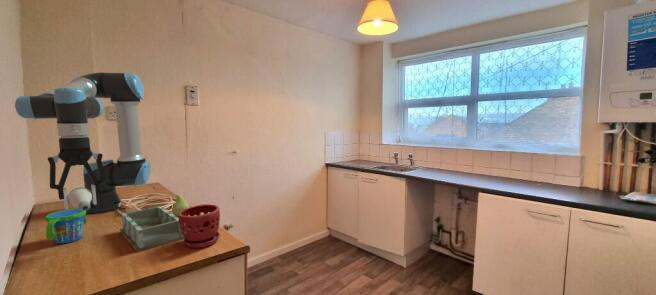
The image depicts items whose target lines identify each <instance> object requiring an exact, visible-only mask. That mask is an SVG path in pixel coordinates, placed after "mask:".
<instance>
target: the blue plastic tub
mask: <svg viewBox="0 0 656 295" xmlns="http://www.w3.org/2000/svg"><path fill="white" fill-rule="evenodd" d="M86 214H87V213H86V211H81V210H80V209H79V208H72V209H71V208H70V209H69V208H68V209H67V210H65V209H64V210H58V211H55V212H51V213H49V214H47V215H46V216H45V221H46V222H47V225H46V231H45V238H46V239H47V240H53V241H54V243H56V244H58V245H59V244H60V245H62V244H68V243H73V242H76V241H78V240H79V239H81V238H83V235H84V234H83V233H84V227H85V226H84V225H86V223H87V222H88V221H87V217H86Z"/></svg>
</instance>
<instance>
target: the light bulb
mask: <svg viewBox="0 0 656 295" xmlns="http://www.w3.org/2000/svg"><path fill="white" fill-rule="evenodd" d="M67 199H68V205H70V206H71V207H74V208H77V209H80V210H81V211H87V210H88V209H90V202H91V201H92V199H93V196H92V192H91V191H90V190H89V189H87V188H85V187H83V186H82V187H76V188H74V189H72V190H70V191H69V192H68V193H67Z"/></svg>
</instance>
